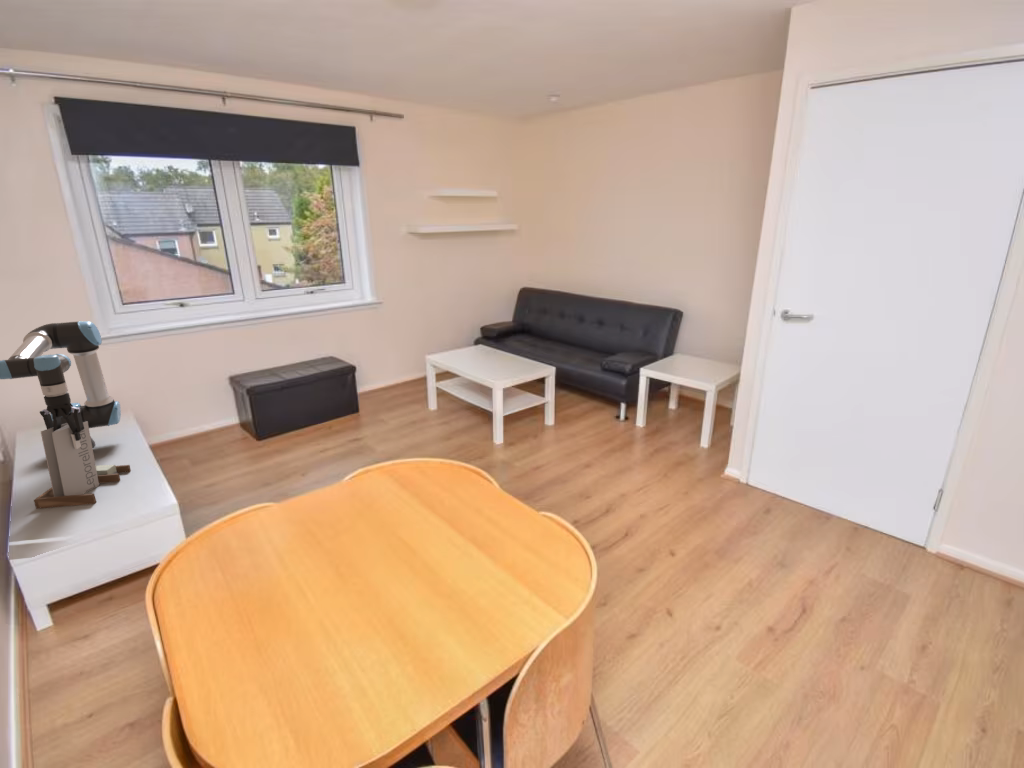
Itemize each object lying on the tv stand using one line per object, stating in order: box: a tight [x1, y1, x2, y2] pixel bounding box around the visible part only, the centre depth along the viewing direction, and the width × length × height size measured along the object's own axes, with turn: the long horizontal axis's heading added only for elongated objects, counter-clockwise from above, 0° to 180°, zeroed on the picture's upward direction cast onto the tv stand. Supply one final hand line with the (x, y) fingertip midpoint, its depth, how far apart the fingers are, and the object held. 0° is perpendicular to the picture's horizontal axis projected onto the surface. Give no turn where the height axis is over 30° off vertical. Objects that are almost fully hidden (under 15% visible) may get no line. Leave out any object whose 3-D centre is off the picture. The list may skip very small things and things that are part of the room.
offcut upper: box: [96, 464, 117, 475], centre depth 222 cm, size 6×12×3 cm, turn 96°
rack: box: [33, 464, 132, 510], centre depth 214 cm, size 28×21×4 cm
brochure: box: [40, 421, 100, 497], centre depth 207 cm, size 14×6×30 cm, turn 171°
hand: (71, 448), depth 205 cm, fingers open, 4 cm apart
